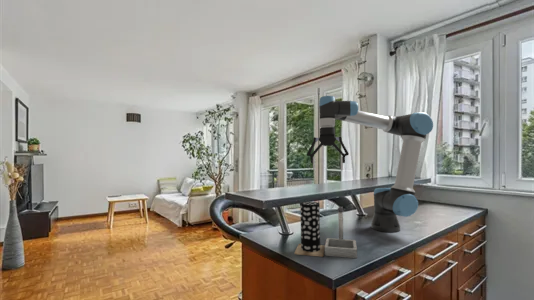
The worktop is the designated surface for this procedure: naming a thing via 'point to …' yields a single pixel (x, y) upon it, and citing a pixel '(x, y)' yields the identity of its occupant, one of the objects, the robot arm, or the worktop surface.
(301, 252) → the coaster
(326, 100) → the robot arm
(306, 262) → the worktop surface
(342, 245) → the holder
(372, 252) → the worktop surface
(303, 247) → the white-spotted black cylinder
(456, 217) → the worktop surface
